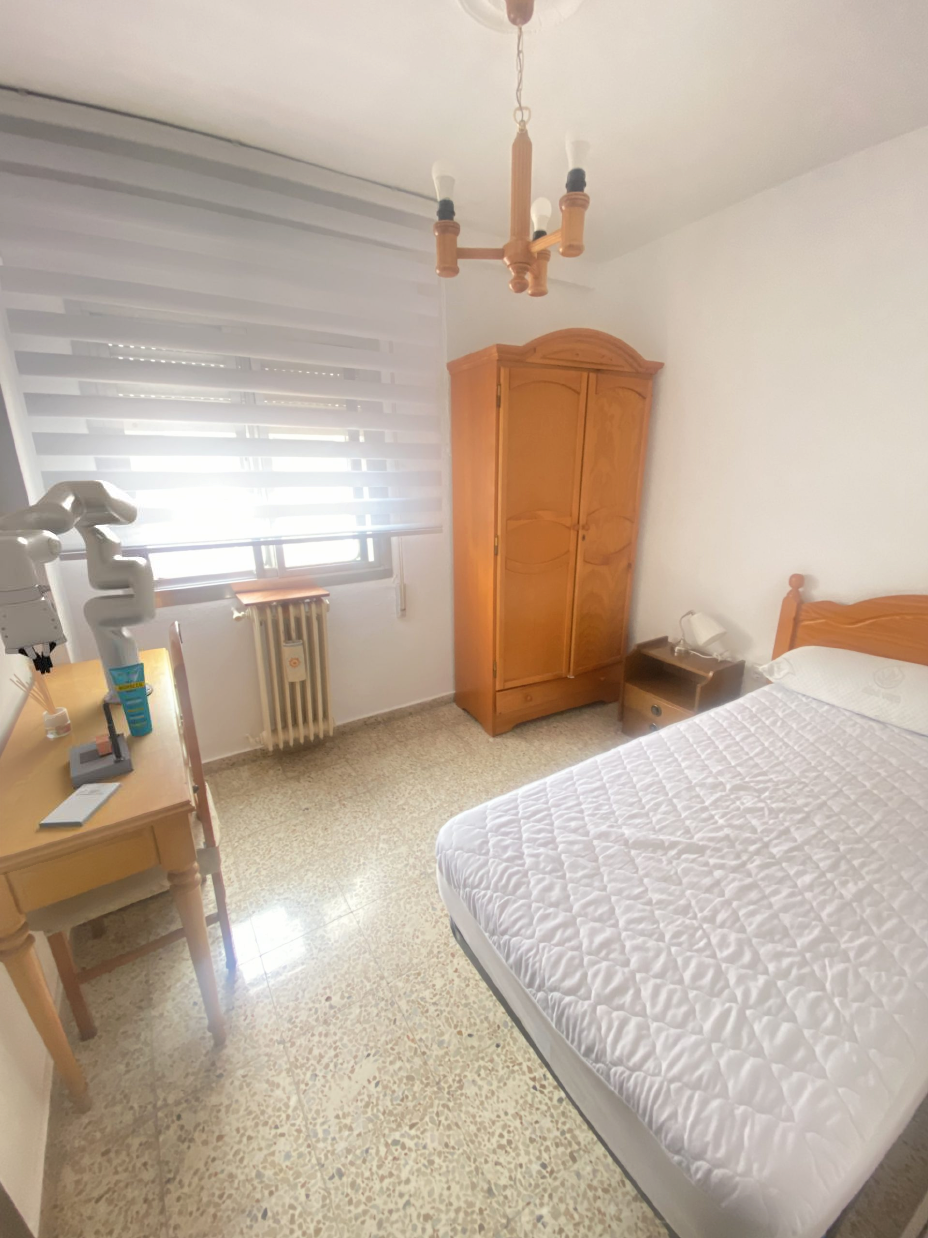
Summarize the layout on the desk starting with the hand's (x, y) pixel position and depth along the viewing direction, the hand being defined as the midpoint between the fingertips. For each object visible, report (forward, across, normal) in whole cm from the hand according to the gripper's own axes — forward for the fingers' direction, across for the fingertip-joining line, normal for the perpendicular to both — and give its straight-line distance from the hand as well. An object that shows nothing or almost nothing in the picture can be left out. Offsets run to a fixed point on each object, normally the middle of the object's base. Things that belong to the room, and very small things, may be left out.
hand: (45, 671), depth 112 cm
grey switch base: (+23, -5, +8) cm, 25 cm away
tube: (+24, -14, -2) cm, 28 cm away
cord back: (+20, -8, +2) cm, 22 cm away
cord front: (+20, -8, +15) cm, 26 cm away
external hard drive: (+23, 0, +24) cm, 33 cm away
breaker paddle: (+20, -6, +8) cm, 22 cm away
